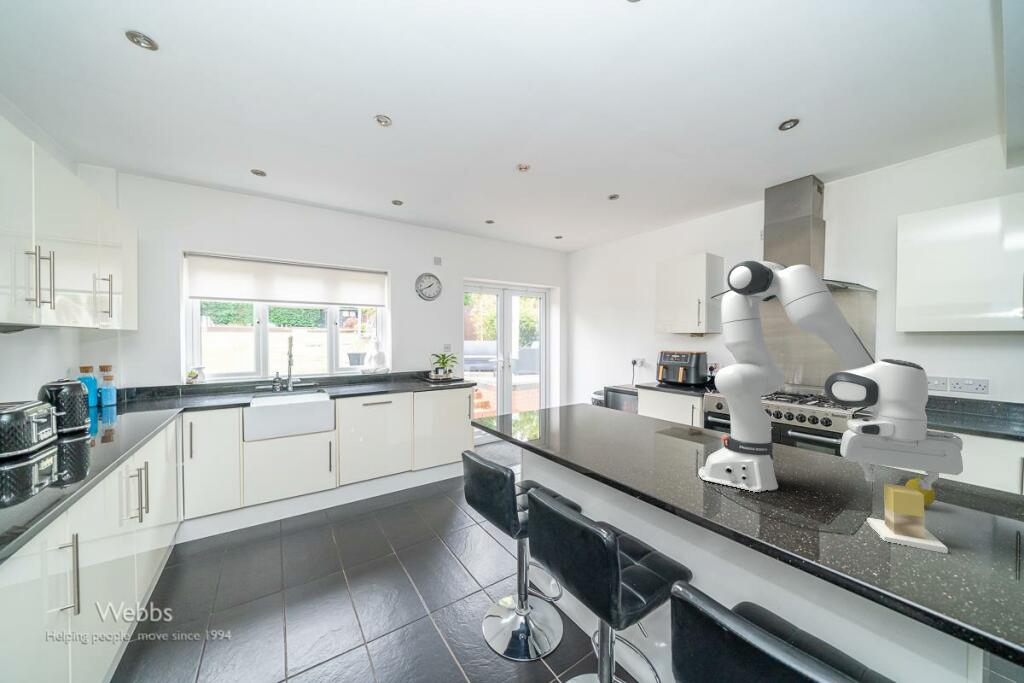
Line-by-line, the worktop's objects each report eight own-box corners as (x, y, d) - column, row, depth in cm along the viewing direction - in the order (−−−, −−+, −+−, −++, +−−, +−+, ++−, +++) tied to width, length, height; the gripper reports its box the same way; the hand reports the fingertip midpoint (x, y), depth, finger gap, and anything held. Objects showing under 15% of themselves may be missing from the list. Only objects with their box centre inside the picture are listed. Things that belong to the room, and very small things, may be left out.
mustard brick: (893, 512, 84) (893, 491, 84) (884, 503, 88) (883, 483, 88) (924, 517, 81) (923, 495, 81) (912, 508, 86) (912, 487, 86)
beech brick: (894, 533, 84) (893, 512, 84) (884, 524, 88) (884, 503, 88) (924, 539, 81) (924, 517, 81) (913, 529, 86) (913, 508, 85)
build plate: (884, 541, 82) (884, 536, 82) (867, 522, 91) (866, 517, 91) (947, 553, 78) (947, 547, 78) (922, 531, 87) (922, 526, 87)
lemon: (941, 512, 96) (941, 482, 96) (916, 510, 97) (916, 481, 97) (922, 503, 101) (922, 474, 101) (899, 501, 102) (898, 473, 102)
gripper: (954, 430, 84) (951, 488, 84) (839, 419, 93) (837, 472, 94) (971, 437, 78) (969, 500, 78) (847, 425, 88) (845, 481, 88)
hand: (896, 484), depth 86 cm, fingers open, 8 cm apart
